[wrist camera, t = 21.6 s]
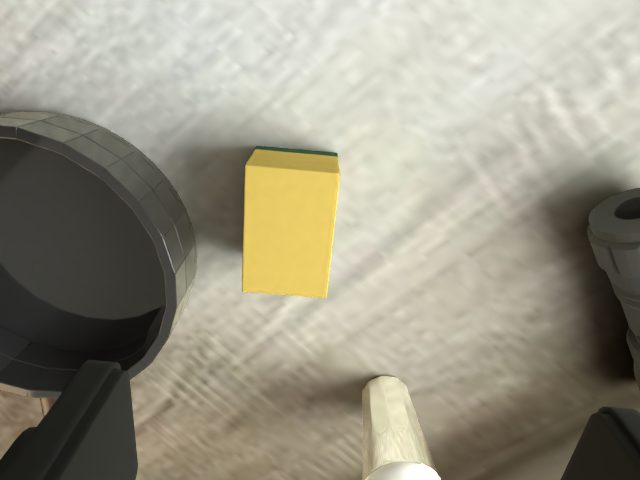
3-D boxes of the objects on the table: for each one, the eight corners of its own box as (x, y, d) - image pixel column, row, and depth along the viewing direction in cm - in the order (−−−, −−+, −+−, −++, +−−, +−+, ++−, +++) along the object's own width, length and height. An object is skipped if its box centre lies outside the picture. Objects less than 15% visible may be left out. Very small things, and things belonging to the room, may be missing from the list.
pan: (-104, 98, 25) (-189, 108, 21) (194, 124, 25) (169, 140, 21) (-39, 343, 31) (-93, 388, 27) (199, 360, 32) (181, 407, 28)
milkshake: (331, 387, 33) (335, 521, 24) (400, 357, 32) (432, 486, 23) (360, 429, 34) (374, 570, 25) (426, 402, 33) (466, 539, 24)
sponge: (256, 145, 26) (244, 164, 22) (337, 152, 26) (340, 173, 22) (252, 256, 29) (241, 291, 25) (325, 262, 29) (326, 298, 25)
